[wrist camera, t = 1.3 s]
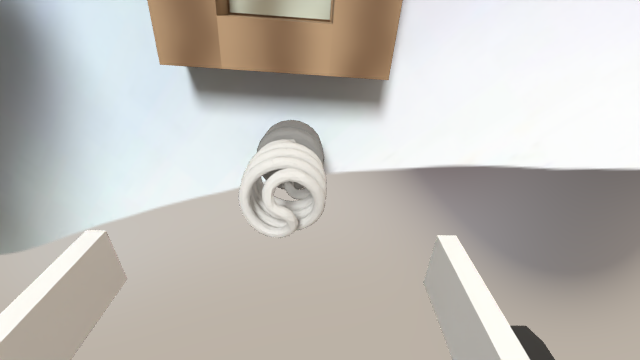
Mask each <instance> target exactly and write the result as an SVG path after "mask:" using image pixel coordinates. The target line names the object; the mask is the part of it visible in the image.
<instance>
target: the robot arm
mask: <svg viewBox="0 0 640 360" xmlns="http://www.w3.org/2000/svg"><path fill="white" fill-rule="evenodd" d="M126 280H127V277H126V275H125V272H124V270H123V268H122V266H121V263H120V261H119V259H118V257H117V254H116V252H115V250H114V248H113V245H112V243H111V241H110V239H109V236H108V234H107V232H106V231H99V230H86V231H85V232H84V233H83V234H82V235H81V236H80V237H79V238H78V239H77V240H76V241H75V242H74V243H73V244H72V245H71V246H70V247H69V248H67V249H66V250H65V251H64V252H63V253H62V254H61V255H60V256H59V257H58V258H57V259H56V260H55V261H54V262H53V263H52V264H51V265H50V266H49V267H48V268H47V269H46V270H45V271H44V272H43V273H42V274H41V275H40V276H39V277H37V278H36V280H34V281H33V282H32V283H31V284H30V285H29V286H28V287H27V288H26V289H25V290H24V291H23V292H22V293H21V294H20V295H19V296H18V297H17V298H16V299H15V300H14V301H13V302H12V303H11V304H10V305H9V306H8V307H7V308H6V309H4V311H2V312H1V314H0V360H71V359H72V358H73V356H74V355H75V353H76V352H77V351H78V349H79V348H80V346H81V345H82V343H83V342H84V340H85V339H86V338H87V336H88V334H89V333H90V332H91V330H92V329H93V328H94V326H95V325H96V323H97V321H98V320H99V319H100V318H101V316H102V315H103V313H104V312H105V310H106V309H107V308H108V306H109V304H110V303H111V302H112V300H113V299H114V297H115V296H116V295H117V293H118V292H119V290H120V289H121V287H122V286H123V285H124V283H125V282H126ZM423 283H424V286H425V288H426V291H427V293H428V296H429V299H430V302H431V304H432V307H433V309H434V312H435V315H436V317H437V320H438V323H439V325H440V328H441V331H442V333H443V336H444V339H445V341H446V344H447V346H448V349H449V352H450V354H451V357H452V360H555V359H554V357H553V356H552V355H551V353H550V351H549V350H548V348H547V347H546V345H545V344H544V342H543V341H542V340H541V339H539V338H538V337H537V336H536V335H535V334H534V333H533V332H532V331H531V330H530V329H529V328H528V327H527V326H510V325H509V324H508V322H507V320H506V319H505V317H504V315H503V314H502V312H501V310H500V309H499V307H498V305H497V303H496V302H495V300H494V299H493V297H492V295H491V293H490V292H489V290H488V288H487V287H486V285H485V283H484V282H483V280H482V278H481V277H480V275H479V274H478V272H477V270H476V268H475V267H474V265H473V263H472V262H471V260H470V258H469V257H468V255H467V253H466V251H465V250H464V248H463V246H462V245H461V243H460V241H459V240H458V238H457V237H456V236H444V235H442V236H441V235H440V236H439V235H437V238H436V241H435V244H434V248H433V252H432V255H431V258H430V262H429V265H428V268H427V272H426V275H425V279H424V282H423Z"/></svg>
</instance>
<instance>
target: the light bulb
mask: <svg viewBox="0 0 640 360" xmlns="http://www.w3.org/2000/svg"><path fill="white" fill-rule="evenodd" d="M323 162H324V154H323V148H322V144H321V141H320V138H319V136H318V134H317V133H316V132H315V131H314V129H313V128H311V127H310V126H309V125H307V124H305V123H303V122H300V121H296V120H287V121H281V122H279V123H277V124H275V125H273V126H272V127H271V128H270V129H269V130H268V131H267V133H266V134H265V135H264V137H263V138H262V139H261V141H260V143H259V146H258V148H257V153H256V154H255V155H254V156H253V158H252V159H251V160H250V161H249V163H248V166H247V168H246V170H245V172H244V174H243V177H242V180H241V185H240V188H239V196H238V197H239V206H240V208H241V211H242V214H243V216H244V218H245V219H246V221H247V222H248V223H249V224H250V226H251V227H253V228H254V229H255V230H257V231H258V232H259V233H261V234H263V235H265V236H270V237H278V238H281V237H286V236H289V235H290V234H292V233H293V232H295V231H296V230H301V229H303V228H306V227H308V226H310V225H312V224H313V223H314V222H316V221H317V220H318V219H319V217H320V216H321V215H322V212H323V211H324V206H325V199H326V192H327V190H326V183H327V182H326V175H325V172H324V168H323ZM261 176H263V177H264V178H265V179H266V182H265V184H263V182H262V179H261ZM276 187H278V188H281V189H285V190H286V191H287V193H288V195H290V196H291V197H292V198H294V199H299V200H298V201H286V200H282V199H280V198H277V197H275V196H274V192H275V189H276ZM304 187H305V188H304ZM301 188H303V189H301ZM299 189H300V190H299Z"/></svg>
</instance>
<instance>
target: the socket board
mask: <svg viewBox="0 0 640 360" xmlns="http://www.w3.org/2000/svg"><path fill="white" fill-rule="evenodd" d="M147 1H148V6H149V11H150V16H151V21H152V26H153V31H154V36H155V41H156V47H157V52H158V57H159V62H160V65H175V66H189V67H204V68H219V69H233V70H248V71H262V72H277V73H292V74H306V75H321V76H336V77H350V78H365V79H379V80H389V74H390V68H391V63H392V57H393V51H394V46H395V40H396V34H397V29H398V23H399V17H400V12H401V6H402V1H403V0H147Z"/></svg>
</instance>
